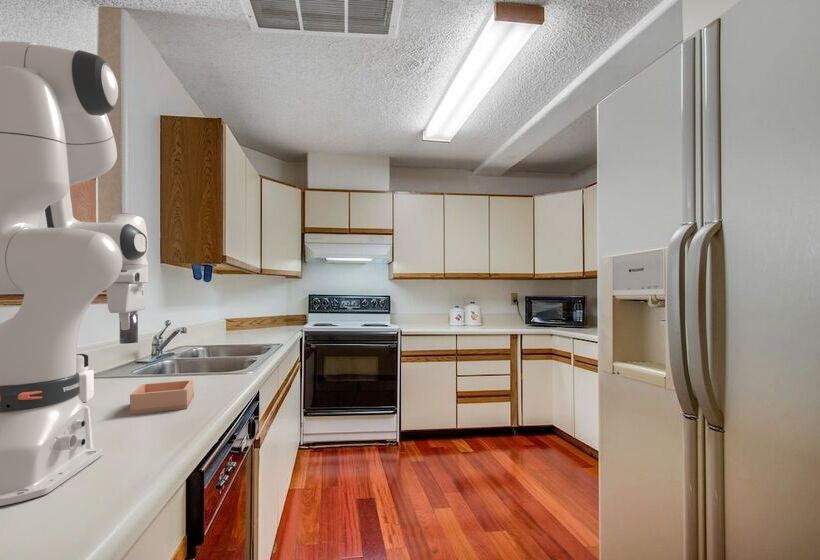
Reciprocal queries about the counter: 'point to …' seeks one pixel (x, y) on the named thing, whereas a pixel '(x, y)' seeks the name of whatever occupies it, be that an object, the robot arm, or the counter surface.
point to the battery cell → (130, 331)
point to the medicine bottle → (84, 378)
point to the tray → (162, 396)
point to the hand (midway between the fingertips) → (128, 328)
